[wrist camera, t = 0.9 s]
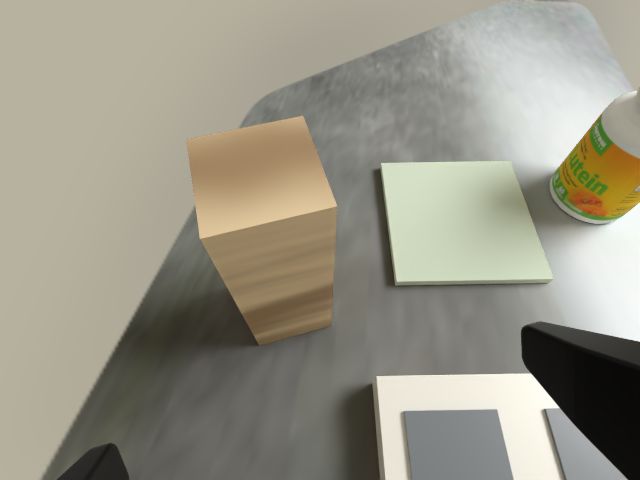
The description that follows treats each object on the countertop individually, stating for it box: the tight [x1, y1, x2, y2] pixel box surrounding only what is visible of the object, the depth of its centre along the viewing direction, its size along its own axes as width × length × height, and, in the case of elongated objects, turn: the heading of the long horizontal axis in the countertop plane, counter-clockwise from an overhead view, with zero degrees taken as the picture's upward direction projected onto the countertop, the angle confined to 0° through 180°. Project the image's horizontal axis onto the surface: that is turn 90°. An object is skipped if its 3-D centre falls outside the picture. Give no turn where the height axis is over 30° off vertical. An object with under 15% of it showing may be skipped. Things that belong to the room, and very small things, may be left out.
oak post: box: [186, 116, 337, 346], centre depth 19 cm, size 4×4×12 cm
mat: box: [380, 161, 554, 285], centre depth 27 cm, size 10×10×1 cm
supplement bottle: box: [550, 87, 640, 224], centre depth 24 cm, size 5×5×10 cm
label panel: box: [372, 374, 627, 480], centre depth 18 cm, size 9×14×2 cm, turn 91°
